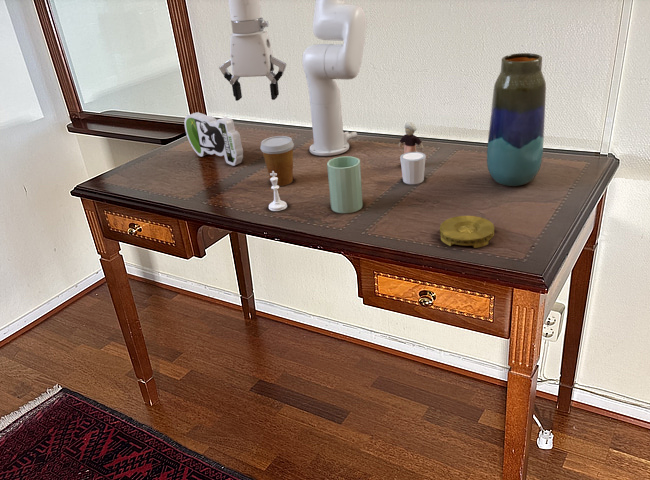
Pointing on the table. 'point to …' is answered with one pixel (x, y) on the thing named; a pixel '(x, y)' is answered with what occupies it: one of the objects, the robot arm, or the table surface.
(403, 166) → the shot glass
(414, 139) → the grandmother figurine
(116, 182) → the table surface
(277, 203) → the chess piece
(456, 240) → the compass
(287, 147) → the disposable coffee cup
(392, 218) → the table surface
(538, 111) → the vase
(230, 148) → the cutout
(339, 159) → the tube
